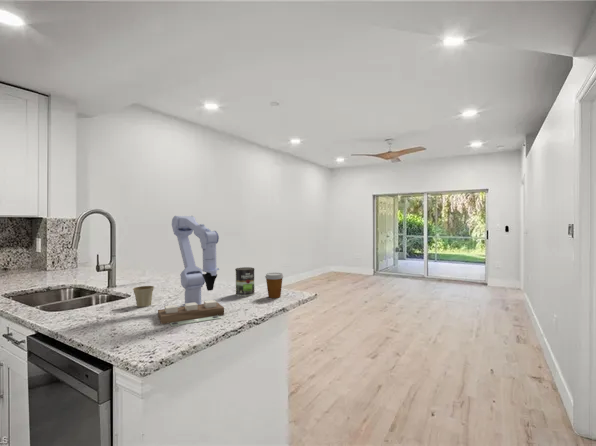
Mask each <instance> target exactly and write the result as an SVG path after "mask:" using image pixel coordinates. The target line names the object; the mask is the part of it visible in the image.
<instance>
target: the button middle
mask: <svg viewBox="0 0 596 446" xmlns="http://www.w3.org/2000/svg"><path fill="white" fill-rule="evenodd" d="M184 304H185V303H184ZM197 309H198V304H197V303H196V302H194V303H186V304H185V310H186V311H190V310H197Z"/></svg>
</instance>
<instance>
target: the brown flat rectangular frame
mask: <svg viewBox="0 0 596 446" xmlns="http://www.w3.org/2000/svg"><path fill="white" fill-rule="evenodd" d="M177 307H178V306H177ZM224 315H225V307H224V306H223V305H222V304H220V303H219V302H217V307H212V308H205V307H204V303H201V304H200V305H198V309H197V310H190V311H186V310H185V307H184V306H179V307H178V312H176V313H169V314H165V308H163V309H158V310H157V318H158V320H159V322H160V324H161V325H164V324H170V323H172V322H179V321H185V320H192V319H198V318H205V317H211V316H224Z"/></svg>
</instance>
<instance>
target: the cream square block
mask: <svg viewBox="0 0 596 446" xmlns="http://www.w3.org/2000/svg"><path fill="white" fill-rule="evenodd" d="M164 309H165V314H169V313H176V312H178V306H177V305H176V304H172V305H165V306H164Z"/></svg>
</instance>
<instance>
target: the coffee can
mask: <svg viewBox="0 0 596 446" xmlns="http://www.w3.org/2000/svg"><path fill="white" fill-rule="evenodd" d="M234 271H235V296H238V297H250V296H254V295H255V267H249V266H248V267H247V266H246V267H245V266H244V267H237V268H235V270H234Z"/></svg>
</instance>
